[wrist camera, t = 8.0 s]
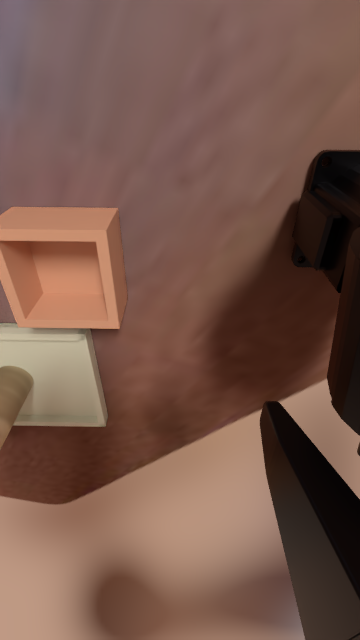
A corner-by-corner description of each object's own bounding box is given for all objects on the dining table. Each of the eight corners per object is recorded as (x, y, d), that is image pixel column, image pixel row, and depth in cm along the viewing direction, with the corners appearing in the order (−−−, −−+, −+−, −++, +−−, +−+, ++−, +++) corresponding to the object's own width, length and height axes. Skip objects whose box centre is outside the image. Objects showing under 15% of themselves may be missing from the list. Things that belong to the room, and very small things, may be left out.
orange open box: (118, 208, 18) (106, 230, 16) (127, 297, 22) (119, 328, 19) (12, 206, 19) (-19, 228, 16) (39, 296, 22) (18, 327, 19)
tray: (89, 324, 24) (85, 334, 23) (108, 415, 30) (105, 426, 29) (-98, 321, 24) (-110, 331, 23) (-39, 413, 30) (-46, 424, 29)
